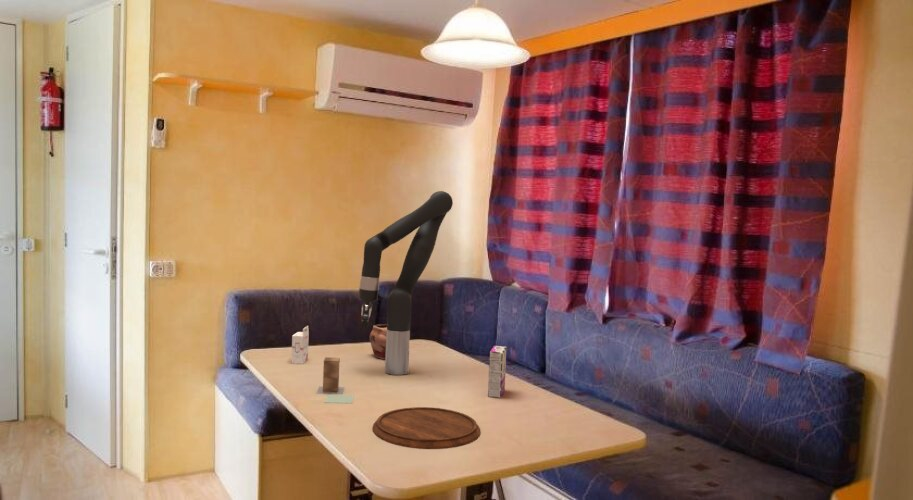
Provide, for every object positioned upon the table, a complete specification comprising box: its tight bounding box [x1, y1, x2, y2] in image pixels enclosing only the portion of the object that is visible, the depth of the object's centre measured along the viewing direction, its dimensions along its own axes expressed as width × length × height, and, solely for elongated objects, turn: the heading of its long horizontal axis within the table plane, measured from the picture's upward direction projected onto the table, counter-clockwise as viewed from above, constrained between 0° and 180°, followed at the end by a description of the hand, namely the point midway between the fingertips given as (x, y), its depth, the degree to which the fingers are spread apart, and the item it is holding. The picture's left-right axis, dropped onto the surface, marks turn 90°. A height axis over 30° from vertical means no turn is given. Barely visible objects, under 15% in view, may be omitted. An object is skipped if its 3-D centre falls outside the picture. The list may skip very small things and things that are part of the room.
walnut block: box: [322, 356, 341, 392], centre depth 227 cm, size 5×5×11 cm
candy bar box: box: [487, 345, 507, 399], centre depth 235 cm, size 11×5×16 cm, turn 168°
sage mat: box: [324, 394, 355, 404], centre depth 218 cm, size 9×9×1 cm
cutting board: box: [372, 406, 481, 450], centre depth 193 cm, size 32×32×2 cm
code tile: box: [316, 385, 345, 395], centre depth 228 cm, size 9×9×1 cm
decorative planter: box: [369, 324, 387, 360], centre depth 286 cm, size 20×12×14 cm, turn 36°
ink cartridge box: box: [291, 325, 310, 365], centre depth 269 cm, size 9×5×15 cm, turn 179°
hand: (364, 328), depth 256 cm, fingers open, 8 cm apart
